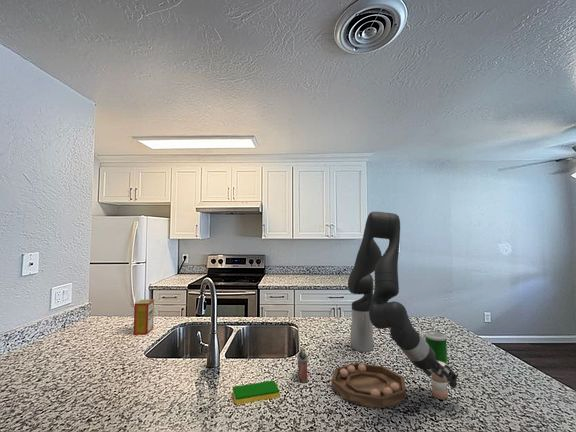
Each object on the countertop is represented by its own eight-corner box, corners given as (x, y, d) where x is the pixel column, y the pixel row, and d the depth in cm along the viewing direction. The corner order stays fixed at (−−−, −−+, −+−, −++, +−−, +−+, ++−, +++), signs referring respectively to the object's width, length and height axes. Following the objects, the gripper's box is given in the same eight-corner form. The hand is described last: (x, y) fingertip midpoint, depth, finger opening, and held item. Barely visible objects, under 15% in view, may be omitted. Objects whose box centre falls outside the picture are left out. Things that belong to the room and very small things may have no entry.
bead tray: (320, 380, 105) (320, 371, 105) (370, 367, 116) (370, 359, 116) (365, 416, 85) (365, 405, 85) (421, 396, 95) (421, 386, 95)
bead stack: (429, 394, 96) (428, 362, 97) (438, 390, 98) (437, 359, 99) (441, 400, 93) (440, 367, 93) (450, 397, 95) (449, 364, 95)
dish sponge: (279, 398, 94) (279, 390, 95) (235, 406, 90) (235, 397, 90) (273, 387, 101) (273, 380, 101) (232, 394, 97) (232, 386, 97)
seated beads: (336, 375, 107) (336, 366, 107) (360, 369, 112) (360, 360, 112) (377, 404, 89) (377, 394, 89) (404, 395, 94) (404, 385, 94)
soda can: (449, 369, 114) (448, 337, 115) (428, 367, 116) (427, 335, 117) (443, 361, 122) (442, 330, 122) (423, 359, 123) (423, 329, 124)
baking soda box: (147, 334, 152) (147, 302, 153) (133, 335, 152) (134, 302, 152) (153, 328, 162) (154, 298, 163) (140, 329, 161) (141, 298, 162)
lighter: (296, 372, 111) (296, 345, 112) (305, 372, 111) (305, 344, 112) (299, 383, 103) (299, 353, 103) (309, 383, 103) (309, 353, 104)
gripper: (443, 346, 87) (468, 378, 91) (403, 332, 100) (428, 361, 104) (431, 369, 84) (458, 401, 89) (392, 351, 97) (417, 380, 101)
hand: (442, 379), depth 96 cm, fingers open, 8 cm apart
